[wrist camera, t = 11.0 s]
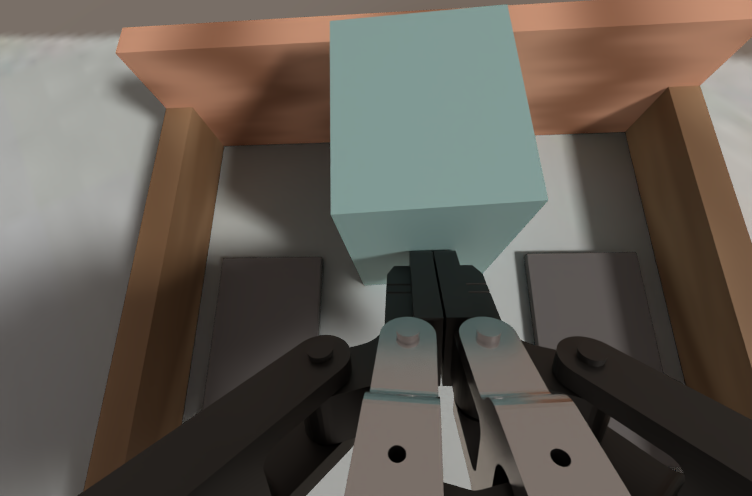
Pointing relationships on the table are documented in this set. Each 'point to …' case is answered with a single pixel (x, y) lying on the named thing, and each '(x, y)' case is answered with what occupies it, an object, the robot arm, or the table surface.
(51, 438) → the table surface
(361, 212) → the block
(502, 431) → the robot arm
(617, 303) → the trap pads
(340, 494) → the table surface
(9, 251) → the table surface
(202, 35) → the lane box
